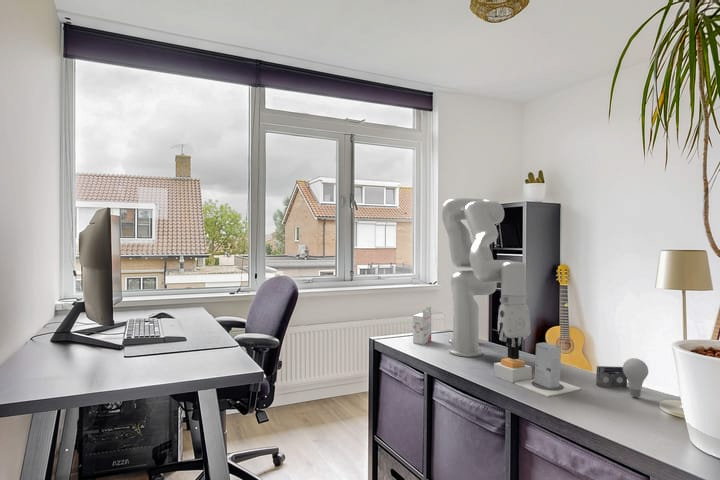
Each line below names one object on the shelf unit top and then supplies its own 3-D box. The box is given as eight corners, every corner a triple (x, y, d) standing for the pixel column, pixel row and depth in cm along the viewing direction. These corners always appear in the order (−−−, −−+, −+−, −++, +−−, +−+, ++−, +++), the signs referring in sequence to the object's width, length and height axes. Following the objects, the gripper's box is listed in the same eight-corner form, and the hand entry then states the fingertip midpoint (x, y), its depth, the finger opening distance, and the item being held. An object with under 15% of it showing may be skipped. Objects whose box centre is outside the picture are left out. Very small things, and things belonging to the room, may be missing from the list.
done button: (500, 368, 144) (500, 359, 144) (512, 366, 146) (512, 357, 146) (512, 372, 139) (512, 363, 139) (524, 370, 141) (524, 361, 141)
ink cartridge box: (421, 339, 194) (421, 305, 194) (431, 340, 192) (431, 306, 192) (412, 343, 187) (412, 308, 187) (423, 344, 185) (423, 309, 184)
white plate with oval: (515, 384, 136) (515, 382, 136) (547, 377, 143) (547, 376, 143) (547, 396, 126) (547, 395, 126) (580, 389, 132) (581, 387, 132)
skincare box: (533, 382, 136) (534, 343, 136) (544, 380, 138) (544, 341, 138) (550, 389, 130) (550, 347, 130) (561, 387, 132) (561, 346, 132)
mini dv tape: (624, 386, 135) (624, 366, 135) (626, 387, 134) (627, 367, 134) (596, 385, 136) (596, 365, 136) (598, 387, 134) (598, 367, 134)
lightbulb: (618, 393, 129) (618, 355, 129) (639, 394, 128) (640, 355, 128) (630, 401, 123) (630, 361, 122) (652, 401, 122) (653, 361, 122)
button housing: (493, 375, 144) (494, 363, 144) (512, 372, 148) (512, 360, 148) (512, 383, 137) (512, 370, 137) (531, 379, 141) (531, 366, 141)
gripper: (504, 303, 135) (504, 364, 135) (539, 300, 142) (539, 358, 142) (487, 300, 142) (486, 358, 142) (521, 297, 149) (521, 353, 149)
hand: (513, 358), depth 142 cm, fingers closed
